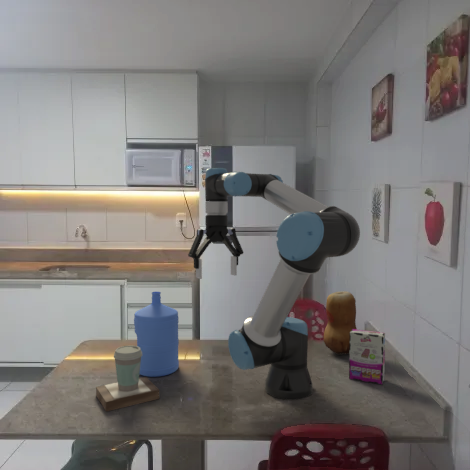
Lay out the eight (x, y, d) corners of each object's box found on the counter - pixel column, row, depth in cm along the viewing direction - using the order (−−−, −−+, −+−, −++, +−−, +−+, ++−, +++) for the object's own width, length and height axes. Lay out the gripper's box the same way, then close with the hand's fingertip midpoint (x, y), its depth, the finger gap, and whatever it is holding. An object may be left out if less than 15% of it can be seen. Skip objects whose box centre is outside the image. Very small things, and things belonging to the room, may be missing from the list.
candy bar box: (384, 379, 146) (385, 332, 145) (382, 385, 142) (384, 336, 141) (351, 373, 151) (352, 328, 150) (348, 379, 147) (349, 331, 146)
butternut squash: (317, 349, 177) (318, 289, 175) (347, 346, 180) (348, 287, 179) (334, 361, 163) (335, 296, 162) (365, 358, 167) (366, 294, 165)
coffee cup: (135, 394, 127) (135, 355, 126) (108, 392, 129) (108, 352, 128) (146, 383, 136) (146, 345, 135) (121, 380, 137) (121, 343, 136)
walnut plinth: (159, 398, 131) (159, 389, 131) (106, 411, 123) (106, 401, 123) (145, 384, 142) (145, 375, 141) (96, 395, 133) (96, 386, 133)
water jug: (187, 367, 157) (187, 291, 155) (157, 381, 144) (156, 299, 142) (156, 358, 166) (155, 286, 164) (125, 371, 153) (124, 293, 151)
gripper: (241, 213, 155) (241, 272, 157) (178, 214, 142) (178, 278, 144) (253, 214, 149) (253, 275, 150) (187, 214, 136) (188, 281, 137)
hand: (216, 276), depth 147 cm, fingers open, 13 cm apart
